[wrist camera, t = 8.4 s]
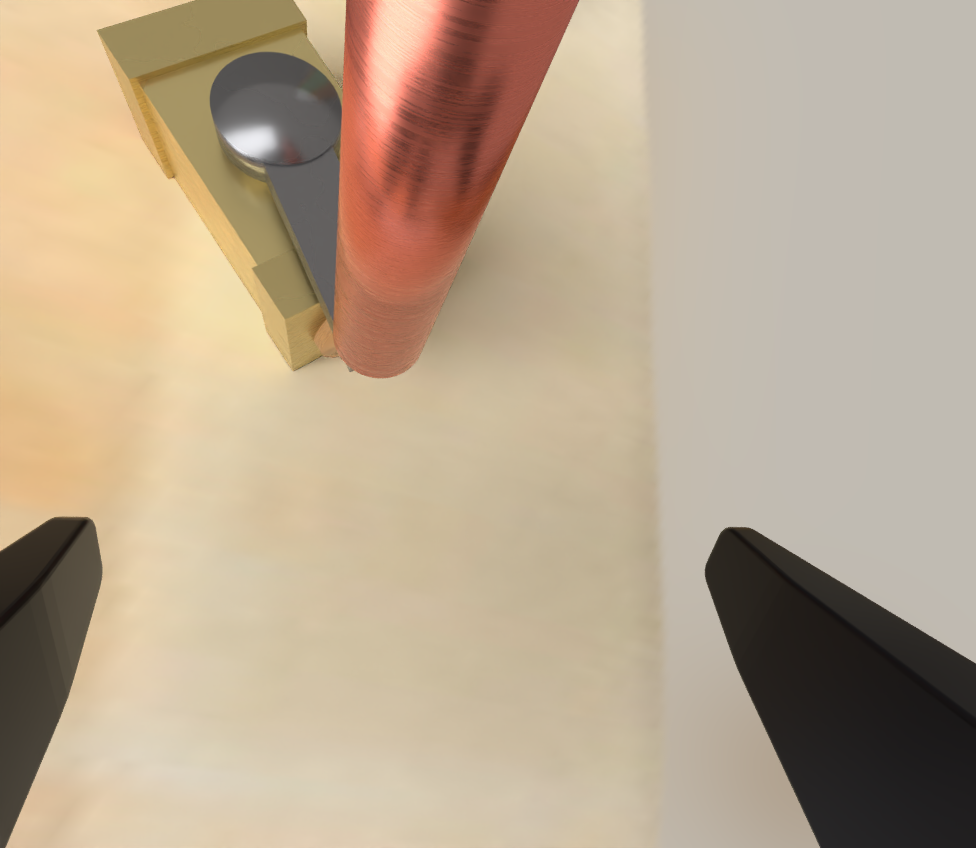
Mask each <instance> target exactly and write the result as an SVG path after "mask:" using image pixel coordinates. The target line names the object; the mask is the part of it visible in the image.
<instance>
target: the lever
mask: <svg viewBox="0 0 976 848" xmlns="http://www.w3.org/2000/svg"><path fill="white" fill-rule="evenodd" d="M578 2H579V0H346V23H345V48H344V73H343V98H342V106H341V102H340V99H339V96H338V93H337V92H336V90H335V88H334V86H333V85H332V83H331V82H330V81H329V79H328V78H327V77H326V76H325V75H324V74H323V73H322V72H321V71H319V70H318V69H317V68H316V67H314V66H313V65H311V64H309V63H308V62H306V61H304V60H302V59H300V58H297V57H295V56H291V55H288V54H283V53H278V52H257V53H251V54H247V55H244V56H242V57H239V58H237V59H235V60H233V61H231V62H230V63H229V64H227V65H226V66H225V67H224V68H223V69H222V70H221V71H220V72H219V73H218V75H217V76H216V78H215V80H214V82H213V84H212V87H211V91H210V109H211V114H212V118H213V122H214V126H215V130H216V134H217V138H218V141H219V144H220V146H221V148H222V150H223V152H224V154H225V155H226V156H227V158H228V159H229V160H230V161H231V162H232V164H233V165H235V166H236V167H237V168H238V169H239V170H241V171H242V172H243V173H245V174H246V175H248V176H250V177H252V178H254V179H257V180H259V181H262V182H265V183H267V185H268V187H269V190H270V192H271V194H272V196H273V199H274V201H275V203H276V206H277V208H278V210H279V212H280V215H281V217H282V219H283V222H284V224H285V226H286V228H287V231H288V233H289V235H290V237H291V240H292V242H293V244H294V247H295V249H296V251H297V253H298V256H299V258H300V260H301V262H302V265H303V267H304V269H305V272H306V274H307V276H308V278H309V281H310V283H311V285H312V287H313V290H314V292H315V294H316V297H317V299H318V301H319V303H320V306H321V308H322V310H323V312H324V315H325V317H326V319H327V322H328V324H329V326H330V328H331V331H332V333H333V339H334V344H335V347H336V350H337V352H338V354H339V355H340V357H341V358H342V360H343V361H344V362H345V363H346V365H347V367H348V369H349V372H351V371H354V370H355V371H356V372H358V373H360V374H362V375H365V376H368V377H373V378H389V377H393V376H397V375H399V374H401V373H403V372H405V371H406V370H408V369H409V368H410V367H412V365H413V364H414V363H415V362H416V361H417V359H418V358H419V356H420V354H421V352H422V349H423V347H424V345H425V343H426V341H427V338H428V336H429V334H430V332H431V329H432V327H433V325H434V323H435V320H436V318H437V316H438V314H439V312H440V309H441V307H442V305H443V303H444V300H445V298H446V296H447V294H448V291H449V289H450V287H451V285H452V283H453V280H454V278H455V276H456V274H457V271H458V269H459V267H460V265H461V262H462V260H463V258H464V256H465V254H466V251H467V249H468V247H469V245H470V242H471V240H472V238H473V236H474V233H475V231H476V229H477V227H478V225H479V222H480V220H481V218H482V216H483V213H484V211H485V209H486V207H487V204H488V202H489V200H490V198H491V196H492V193H493V191H494V189H495V187H496V184H497V182H498V180H499V178H500V175H501V173H502V171H503V169H504V167H505V164H506V162H507V160H508V158H509V155H510V153H511V151H512V149H513V147H514V144H515V142H516V140H517V138H518V135H519V133H520V131H521V129H522V126H523V124H524V122H525V120H526V118H527V115H528V113H529V111H530V109H531V106H532V104H533V102H534V100H535V97H536V95H537V93H538V91H539V89H540V86H541V84H542V82H543V80H544V77H545V75H546V73H547V71H548V68H549V66H550V64H551V62H552V60H553V57H554V55H555V53H556V51H557V48H558V46H559V44H560V42H561V39H562V37H563V35H564V33H565V31H566V28H567V26H568V24H569V22H570V19H571V17H572V15H573V13H574V10H575V8H576V6H577V4H578ZM339 151H340V162H339V160H338V158H337V156H338V154H339Z"/></svg>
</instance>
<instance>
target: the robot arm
mask: <svg viewBox="0 0 976 848" xmlns="http://www.w3.org/2000/svg"><path fill="white" fill-rule="evenodd" d="M705 577H706V582H707V585H708V588H709V590H710V593H711V596H712V599H713V602H714V605H715V607H716V611H717V613H718V616H719V619H720V622H721V625H722V628H723V630H724V633H725V636H726V639H727V642H728V644H729V647H730V650H731V653H732V655H733V658H734V661H735V664H736V666H737V669H738V671H739V673H740V675H741V678H742V680H743V682H744V684H745V686H746V688H747V691H748V693H749V695H750V697H751V700H752V702H753V704H754V706H755V708H756V710H757V712H758V715H759V717H760V718H761V721H762V723H763V725H764V727H765V730H766V732H767V734H768V736H769V738H770V740H771V743H772V745H773V747H774V749H775V751H776V753H777V755H778V758H779V760H780V762H781V764H782V766H783V769H784V770H785V773H786V775H787V777H788V779H789V781H790V784H791V786H792V788H793V790H794V792H795V794H796V796H797V798H798V801H799V803H800V805H801V807H802V809H803V812H804V814H805V816H806V818H807V820H808V822H809V824H810V826H811V829H812V831H813V833H814V835H815V837H816V839H817V842H818V844H819V846H820V848H976V663H974V662H972V661H971V660H969V659H967V658H966V657H964V656H962V655H960V654H959V653H957V652H956V651H954V650H952V649H951V648H949V647H947V646H946V645H944V644H942V643H941V642H939V641H937V640H936V639H934V638H933V637H931V636H929V635H927V634H926V633H924V632H922V631H921V630H919V629H918V628H916V627H914V626H913V625H911V624H909V623H908V622H906V621H904V620H902V619H901V618H899V617H898V616H896V615H894V614H892V613H891V612H889V611H888V610H886V609H884V608H883V607H881V606H879V605H878V604H876V603H874V602H873V601H871V600H869V599H868V598H866V597H864V596H863V595H861V594H860V593H858V592H856V591H855V590H853V589H851V588H850V587H848V586H846V585H845V584H843V583H841V582H840V581H838V580H836V579H835V578H833V577H831V576H830V575H828V574H826V573H825V572H823V571H821V570H820V569H818V568H816V567H815V566H813V565H811V564H810V563H808V562H806V561H805V560H803V559H801V558H800V557H798V556H797V555H795V554H793V553H792V552H789V551H788V550H787V549H785V548H783V547H782V546H780V545H778V544H776V543H775V542H773V541H772V540H770V539H768V538H767V537H765V536H763V535H762V534H760V533H758V532H757V531H755V530H753V529H751V528H746V527H728V528H725V529H724V530H723V531H722V532H721V533H720V535H719V537H718V539H717V541H716V544H715V546H714V548H713V550H712V552H711V554H710V557H709V559H708V561H707V563H706V567H705ZM101 580H102V561H101V555H100V550H99V544H98V538H97V532H96V527H95V524H94V522H93V521H92V520H91V519H90V518H88V517H54V518H52V519H50V520H48V521H46V522H45V523H43V524H42V525H40V526H39V527H37V528H35V529H34V530H32V531H31V532H29V533H28V534H26V535H25V536H23V537H22V538H20V539H18V540H17V541H15V542H14V543H12V544H11V545H9V546H8V547H6V548H5V549H3V550H1V551H0V848H6V845H7V843H8V840H9V838H10V836H11V833H12V831H13V829H14V826H15V824H16V821H17V819H18V817H19V814H20V812H21V810H22V807H23V805H24V802H25V800H26V798H27V795H28V793H29V791H30V788H31V786H32V783H33V781H34V779H35V776H36V774H37V772H38V769H39V767H40V764H41V762H42V760H43V757H44V755H45V753H46V750H47V748H48V745H49V743H50V741H51V738H52V736H53V734H54V731H55V729H56V726H57V724H58V722H59V719H60V717H61V714H62V712H63V709H64V706H65V704H66V701H67V699H68V696H69V693H70V689H71V686H72V683H73V680H74V676H75V673H76V669H77V666H78V662H79V659H80V655H81V652H82V648H83V645H84V641H85V638H86V634H87V631H88V627H89V624H90V620H91V617H92V613H93V610H94V606H95V603H96V599H97V596H98V592H99V589H100V585H101Z"/></svg>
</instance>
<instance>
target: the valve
mask: <svg viewBox="0 0 976 848" xmlns="http://www.w3.org/2000/svg"><path fill="white" fill-rule="evenodd" d="M97 32H98V34H99V37H100V39H101V41H102V44H103V46H104V48H105V51H106V53H107V56H108V58H109V60H110V63H111V65H112V68H113V70H114V72H115V75H116V77H117V79H118V82H119V84H120V87H121V89H122V91H123V94H124V96H125V99H126V101H127V103H128V106H129V108H130V110H131V113H132V115H133V118H134V120H135V122H136V125H137V127H138V130H139V132H140V134H141V137H142V139H143V141H144V142H145V144H146V145H147V147H148V148H149V150H150V151H151V153H152V155H153V156H154V158H155V159H156V161H157V162H158V164H159V165H160V167H161V168H162V170H163V172H164V173H165V175H166V176H167V178H168V179H169V178H171V177H175V179H176V180H177V182H178V183H179V185H180V186H181V188H182V189H183V191H184V193H185V194H186V196H187V197H188V199H189V200H190V202H191V203H192V205H193V206H194V208H195V210H196V211H197V213H198V214H199V216H200V217H201V219H202V220H203V222H204V223H205V225H206V226H207V228H208V230H209V231H210V233H211V234H212V236H213V237H214V239H215V240H216V242H217V243H218V245H219V247H220V248H221V250H222V251H223V253H224V254H225V256H226V257H227V259H228V260H229V262H230V264H231V265H232V267H233V268H234V270H235V271H236V273H237V274H238V276H239V277H240V279H241V280H242V282H243V284H244V285H245V287H246V288H247V290H248V291H249V293H250V294H251V296H252V297H253V299H254V301H255V302H256V304H257V305H258V307H259V308H260V310H261V311H262V314H263V319H264V323H265V327H266V331H267V332H268V334H269V335H270V337H271V338H272V340H273V341H274V343H275V344H276V346H277V348H278V349H279V351H280V352H281V354H282V355H283V357H284V358H285V360H286V361H287V363H288V365H289V366H290V368H291V369H292V371H294V370H296V369H298V368H300V367H302V366H304V365H306V364H308V363H309V362H311V361H313V360H315V359H317V358H319V357H321V356H322V355H323V356H325V357H337V356H340V355H339V354H338V352H337V350H336V347H335V344H334V339H333V333H332V331H331V328H330V326H329V324H328V322H327V319H326V317H325V315H324V312H323V310H322V308H321V306H320V303H319V301H318V299H317V297H316V294H315V292H314V290H313V287H312V285H311V283H310V281H309V278H308V276H307V274H306V272H305V269H304V267H303V265H302V262H301V260H300V258H299V256H298V253H297V251H296V249H295V247H294V244H293V242H292V240H291V237H290V235H289V233H288V231H287V228H286V226H285V224H284V222H283V219H282V217H281V215H280V212H279V210H278V208H277V206H276V203H275V201H274V199H273V196H272V194H271V192H270V190H269V187H268V185H267V183H265V182H262V181H259V180H257V179H254V178H252V177H250V176H248V175H246V174H245V173H243V172H242V171H241V170H239V169H238V168H237V167H236V166H235V165H233V164H232V162H231V161H230V160H229V159H228V158H227V156H226V155H225V154H224V152H223V150H222V148H221V146H220V144H219V141H218V138H217V134H216V130H215V126H214V122H213V118H212V114H211V109H210V91H211V87H212V84H213V82H214V80H215V78H216V76H217V75H218V73H219V72H220V71H221V70H222V69H223V68H224V67H225V66H226V65H227V64H229V63H230V62H231V61H233V60H235V59H237V58H239V57H242V56H244V55H247V54H251V53H257V52H278V53H283V54H288V55H291V56H295V57H297V58H300V59H302V60H304V61H306V62H308V63H309V64H311V65H313V66H314V67H316V68H317V69H318V70H319V71H321V72H322V73H323V74H324V75H325V76H326V77H327V78H328V79H329V81H330V82H331V83H332V85H333V86H334V88H335V90H336V92H337V93H338V96H339V99H340V102H341V106H342V98H343V90H342V89H341V87H340V86H339V84H338V83H337V81H336V80H335V78H334V77H333V75H332V74H331V73H330V71H329V70H328V68H327V67H326V65H325V64H324V62H323V61H322V59H321V58H320V56H319V55H318V53H317V52H316V50H315V49H314V47H313V46H312V44H311V43H310V41H309V40H308V38H307V20H306V19H305V17H304V16H303V14H302V13H301V11H300V10H299V8H298V7H297V5H296V4H295V2H294V1H293V0H195V1H192V2H188V3H185V4H182V5H179V6H175V7H172V8H169V9H165V10H162V11H159V12H156V13H152V14H149V15H146V16H142V17H139V18H136V19H132V20H129V21H126V22H123V23H119V24H116V25H113V26H109V27H106V28H103V29H99V30H97ZM337 158H338V160H339V162H340V151H339V154H338V156H337Z"/></svg>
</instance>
